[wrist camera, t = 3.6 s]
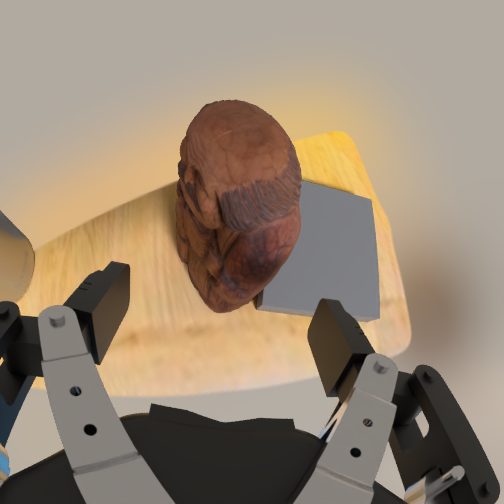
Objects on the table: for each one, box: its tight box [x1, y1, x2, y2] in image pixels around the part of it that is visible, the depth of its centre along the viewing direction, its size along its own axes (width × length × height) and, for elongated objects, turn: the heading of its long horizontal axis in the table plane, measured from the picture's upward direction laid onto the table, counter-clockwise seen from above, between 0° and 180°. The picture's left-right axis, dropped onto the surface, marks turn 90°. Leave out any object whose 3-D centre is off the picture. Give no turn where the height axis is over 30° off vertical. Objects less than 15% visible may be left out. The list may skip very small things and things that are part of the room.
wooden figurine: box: [176, 100, 302, 313], centre depth 20 cm, size 12×6×18 cm, turn 27°
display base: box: [256, 180, 380, 322], centre depth 30 cm, size 13×15×2 cm
